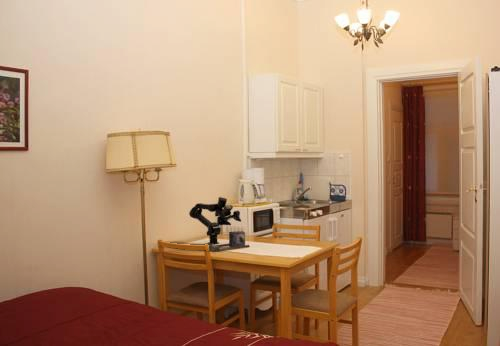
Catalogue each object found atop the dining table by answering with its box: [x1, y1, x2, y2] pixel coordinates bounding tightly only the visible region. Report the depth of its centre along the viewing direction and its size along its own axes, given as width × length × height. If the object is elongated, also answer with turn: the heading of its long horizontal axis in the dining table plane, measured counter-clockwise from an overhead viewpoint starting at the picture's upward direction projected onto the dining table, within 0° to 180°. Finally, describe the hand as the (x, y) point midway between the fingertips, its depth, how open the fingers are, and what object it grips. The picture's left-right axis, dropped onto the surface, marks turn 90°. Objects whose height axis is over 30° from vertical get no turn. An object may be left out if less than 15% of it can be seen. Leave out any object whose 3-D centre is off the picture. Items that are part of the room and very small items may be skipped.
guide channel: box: [207, 243, 250, 253], centre depth 330 cm, size 15×27×3 cm, turn 124°
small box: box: [228, 230, 246, 247], centre depth 334 cm, size 11×6×10 cm, turn 105°
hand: (235, 222), depth 330 cm, fingers open, 9 cm apart
